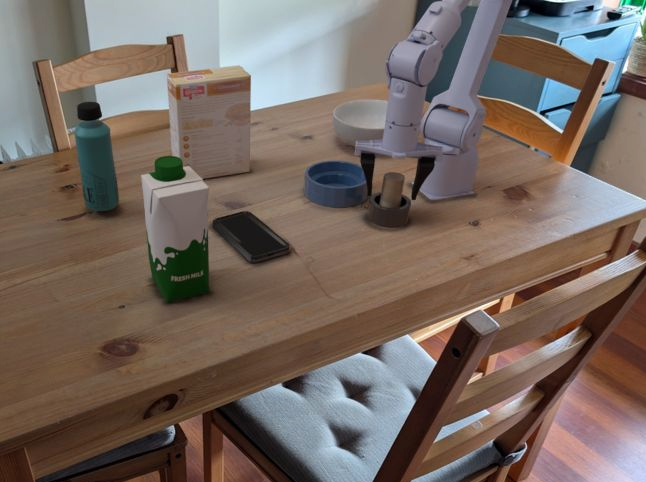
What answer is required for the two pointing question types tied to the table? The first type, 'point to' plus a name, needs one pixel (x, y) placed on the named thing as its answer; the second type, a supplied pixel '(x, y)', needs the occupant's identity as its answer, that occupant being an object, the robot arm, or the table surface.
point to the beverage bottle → (96, 159)
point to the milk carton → (177, 229)
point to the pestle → (392, 190)
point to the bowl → (335, 184)
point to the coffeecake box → (211, 119)
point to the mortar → (388, 212)
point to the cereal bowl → (360, 120)
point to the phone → (250, 236)
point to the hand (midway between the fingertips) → (391, 195)
